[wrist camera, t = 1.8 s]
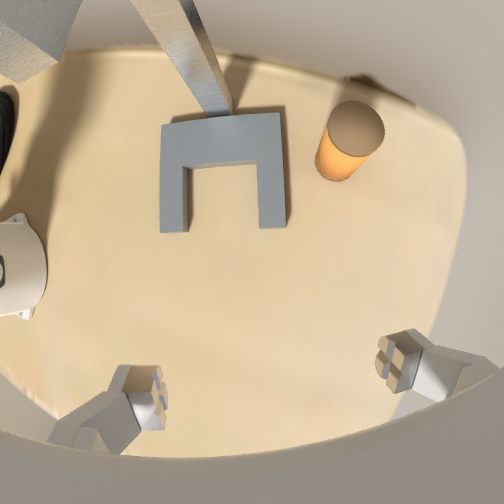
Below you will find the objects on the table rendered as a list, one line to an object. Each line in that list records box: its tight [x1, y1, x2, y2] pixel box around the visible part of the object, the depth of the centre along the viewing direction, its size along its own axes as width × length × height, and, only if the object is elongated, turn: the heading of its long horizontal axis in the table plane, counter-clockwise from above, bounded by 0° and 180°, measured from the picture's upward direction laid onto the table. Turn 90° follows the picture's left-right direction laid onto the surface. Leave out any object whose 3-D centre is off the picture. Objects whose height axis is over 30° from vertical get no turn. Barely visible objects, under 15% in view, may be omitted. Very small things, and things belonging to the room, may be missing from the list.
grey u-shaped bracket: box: [160, 112, 286, 233], centre depth 35 cm, size 15×14×2 cm
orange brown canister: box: [315, 101, 385, 181], centre depth 28 cm, size 5×5×12 cm
